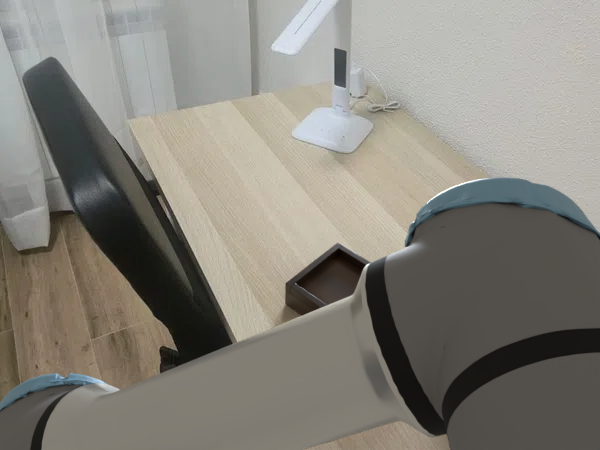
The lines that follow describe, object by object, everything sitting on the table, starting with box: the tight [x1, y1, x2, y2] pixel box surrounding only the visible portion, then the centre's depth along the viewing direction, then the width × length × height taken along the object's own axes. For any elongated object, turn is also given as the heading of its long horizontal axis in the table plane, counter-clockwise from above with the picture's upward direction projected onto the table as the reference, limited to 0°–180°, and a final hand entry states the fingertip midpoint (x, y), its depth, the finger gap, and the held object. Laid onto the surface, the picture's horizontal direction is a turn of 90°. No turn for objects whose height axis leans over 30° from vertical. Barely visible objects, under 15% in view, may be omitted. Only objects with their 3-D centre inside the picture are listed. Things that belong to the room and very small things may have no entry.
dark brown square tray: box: [284, 242, 372, 316], centre depth 81 cm, size 12×12×4 cm
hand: (474, 350), depth 69 cm, fingers open, 13 cm apart
